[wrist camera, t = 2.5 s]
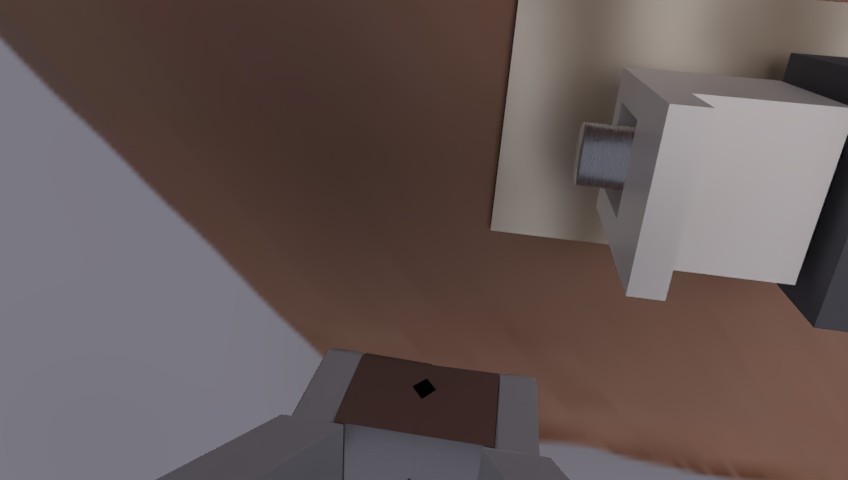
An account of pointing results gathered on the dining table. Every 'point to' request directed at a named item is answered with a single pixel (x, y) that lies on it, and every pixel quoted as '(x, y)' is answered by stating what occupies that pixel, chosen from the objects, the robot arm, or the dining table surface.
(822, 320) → the charcoal grey box
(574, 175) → the pipe
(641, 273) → the sleeve
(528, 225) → the rod holder plate
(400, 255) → the dining table surface
